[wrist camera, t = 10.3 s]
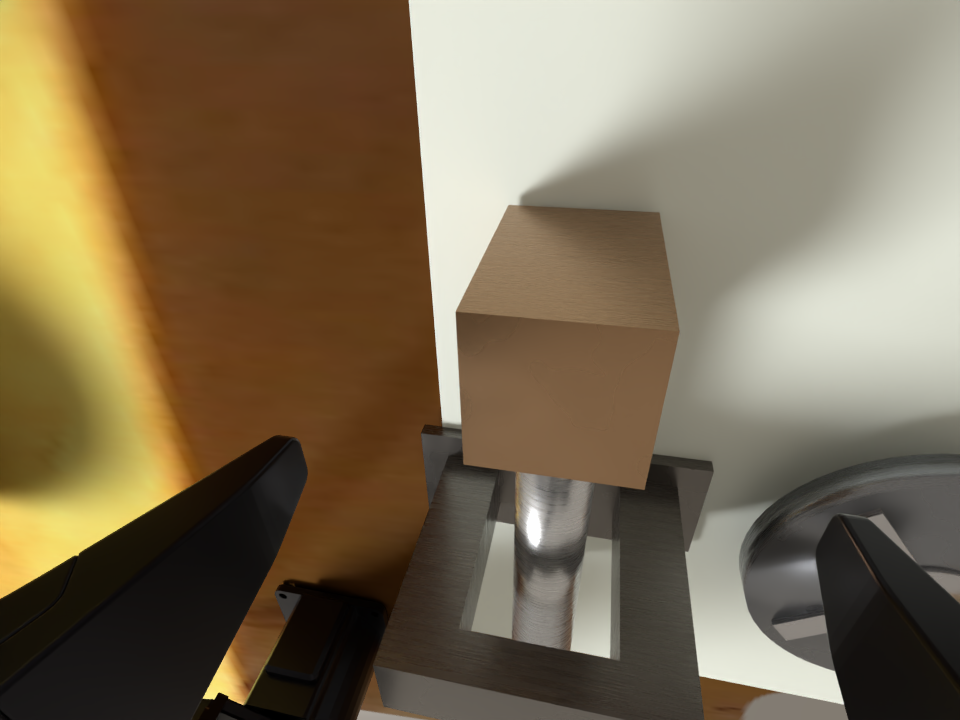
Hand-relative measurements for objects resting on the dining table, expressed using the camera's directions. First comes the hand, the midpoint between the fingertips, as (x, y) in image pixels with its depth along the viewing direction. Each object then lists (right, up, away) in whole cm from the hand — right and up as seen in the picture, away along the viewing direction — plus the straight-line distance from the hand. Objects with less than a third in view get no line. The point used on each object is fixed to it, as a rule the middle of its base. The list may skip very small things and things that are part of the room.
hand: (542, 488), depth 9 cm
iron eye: (+2, -2, +12) cm, 13 cm away
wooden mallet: (+2, 0, +10) cm, 10 cm away
